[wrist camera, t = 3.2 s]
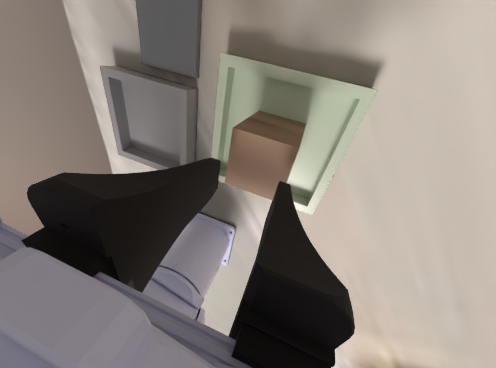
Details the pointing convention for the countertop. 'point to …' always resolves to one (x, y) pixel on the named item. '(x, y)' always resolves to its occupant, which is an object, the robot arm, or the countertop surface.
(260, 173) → the walnut block
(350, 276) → the countertop surface
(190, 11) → the slate coaster
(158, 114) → the grey tray
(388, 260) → the countertop surface
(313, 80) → the green tray
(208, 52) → the countertop surface
